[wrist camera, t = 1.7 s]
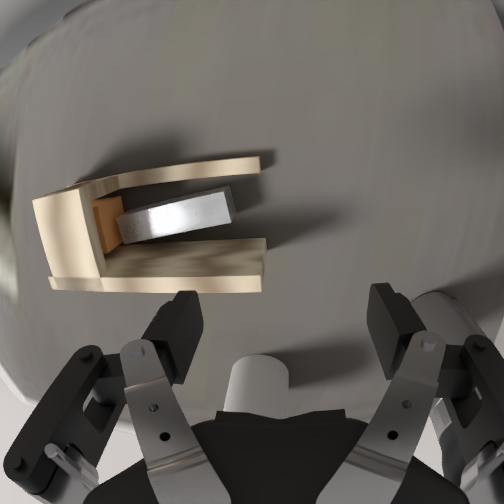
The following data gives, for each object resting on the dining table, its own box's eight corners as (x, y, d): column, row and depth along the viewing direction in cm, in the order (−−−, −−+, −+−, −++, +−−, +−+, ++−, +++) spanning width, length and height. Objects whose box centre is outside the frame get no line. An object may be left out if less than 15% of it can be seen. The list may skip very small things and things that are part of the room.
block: (121, 195, 30) (97, 206, 25) (129, 236, 32) (108, 253, 27) (89, 200, 30) (64, 212, 26) (97, 238, 32) (75, 254, 28)
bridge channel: (259, 156, 27) (251, 164, 19) (266, 250, 31) (261, 292, 23) (73, 184, 30) (27, 201, 22) (90, 257, 33) (52, 289, 26)
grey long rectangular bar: (230, 185, 29) (223, 191, 25) (236, 212, 30) (231, 222, 26) (130, 209, 31) (115, 218, 27) (138, 233, 32) (124, 244, 28)
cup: (226, 384, 40) (211, 450, 29) (239, 348, 36) (224, 421, 25) (277, 396, 40) (274, 462, 29) (297, 362, 37) (298, 435, 26)
